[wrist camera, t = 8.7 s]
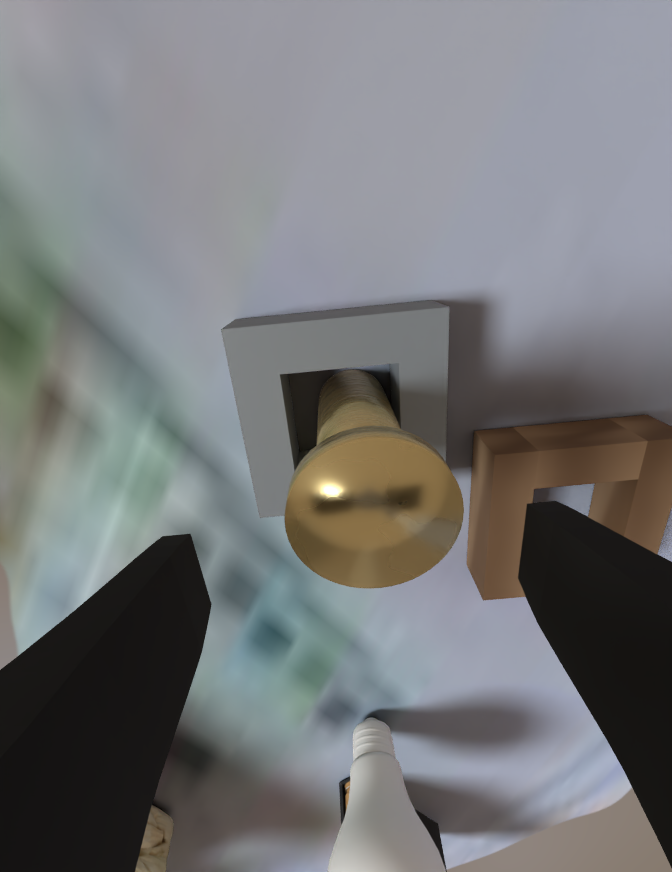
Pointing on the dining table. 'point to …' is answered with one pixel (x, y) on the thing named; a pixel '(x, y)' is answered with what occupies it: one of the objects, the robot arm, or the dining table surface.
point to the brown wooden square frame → (564, 466)
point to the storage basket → (155, 842)
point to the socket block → (324, 350)
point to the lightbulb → (381, 813)
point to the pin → (370, 492)
